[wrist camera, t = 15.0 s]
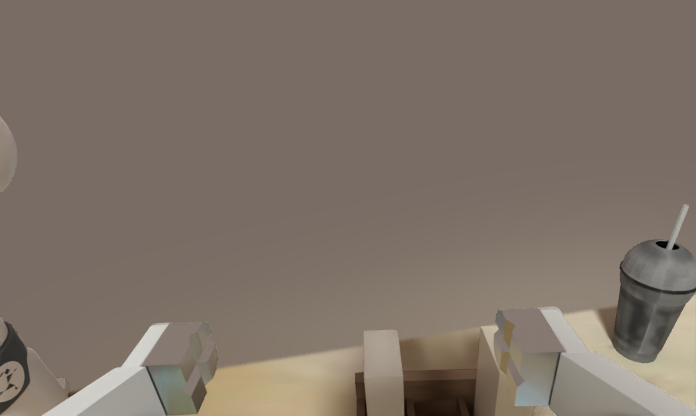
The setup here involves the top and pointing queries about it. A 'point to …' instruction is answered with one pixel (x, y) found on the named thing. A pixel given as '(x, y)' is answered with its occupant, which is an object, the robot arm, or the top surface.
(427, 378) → the wooden divided tray
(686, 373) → the top surface
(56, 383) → the robot arm
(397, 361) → the clay strip
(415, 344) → the top surface
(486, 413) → the clay strip
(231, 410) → the top surface
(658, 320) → the beverage cup
